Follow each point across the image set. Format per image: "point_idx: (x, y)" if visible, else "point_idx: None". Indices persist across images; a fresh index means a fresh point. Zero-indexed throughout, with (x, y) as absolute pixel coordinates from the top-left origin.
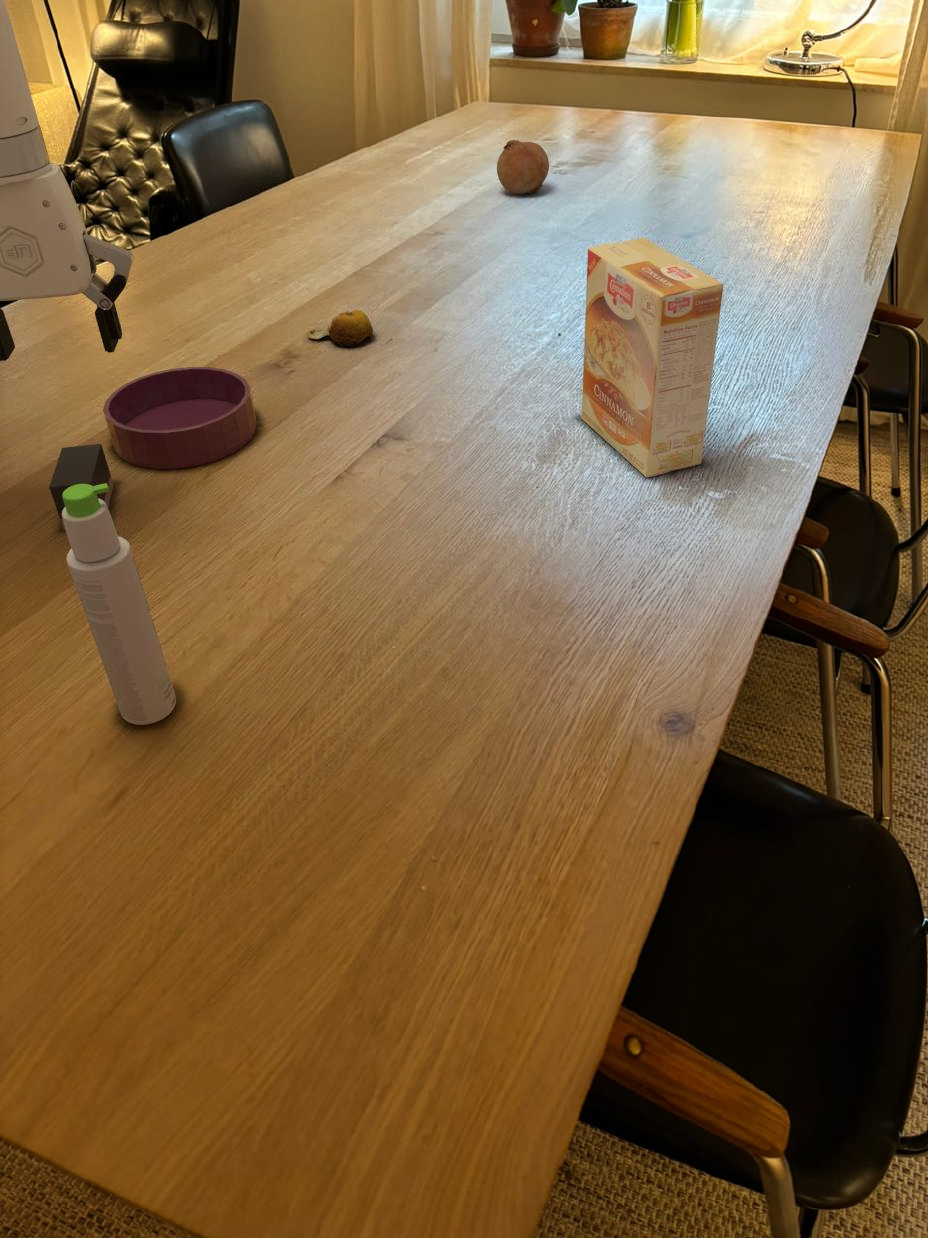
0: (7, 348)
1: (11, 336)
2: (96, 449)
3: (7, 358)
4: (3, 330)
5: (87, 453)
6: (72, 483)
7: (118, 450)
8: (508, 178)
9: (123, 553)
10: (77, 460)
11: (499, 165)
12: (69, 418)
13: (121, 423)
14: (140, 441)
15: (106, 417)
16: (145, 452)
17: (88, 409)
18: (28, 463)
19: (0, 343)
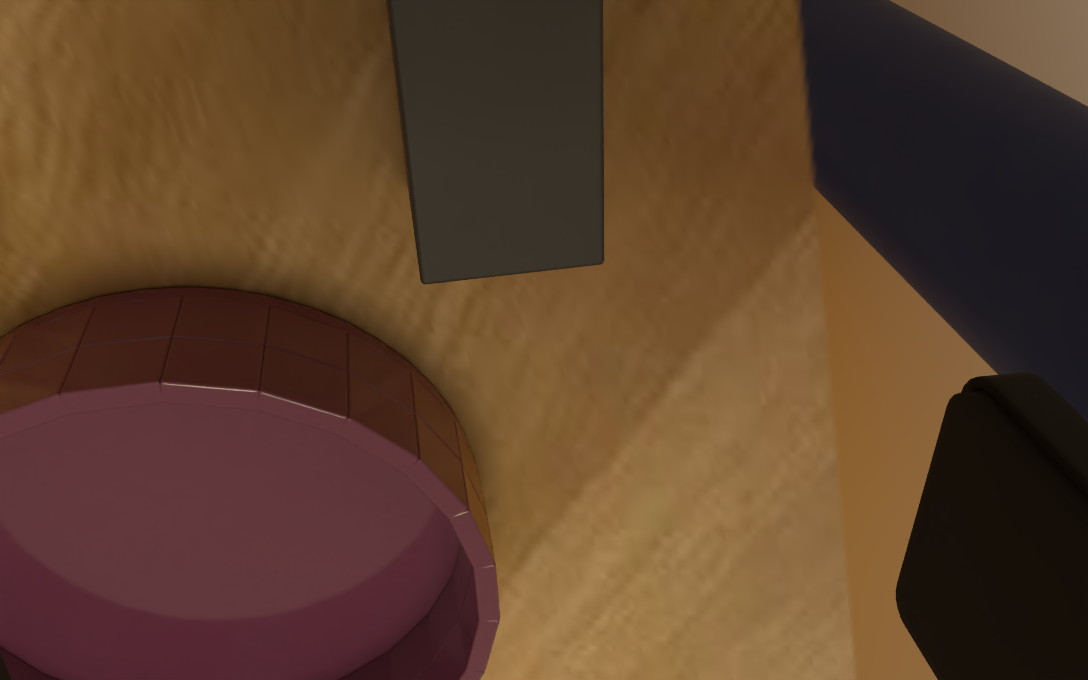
0: (971, 503)
1: (943, 675)
2: (431, 231)
3: (956, 395)
4: (1051, 675)
5: (467, 197)
6: None
7: (431, 399)
8: None
9: None
10: (502, 133)
11: None
12: (664, 613)
13: (460, 560)
14: (289, 368)
15: (465, 510)
16: (280, 336)
17: (611, 658)
18: (767, 365)
19: (1067, 492)
